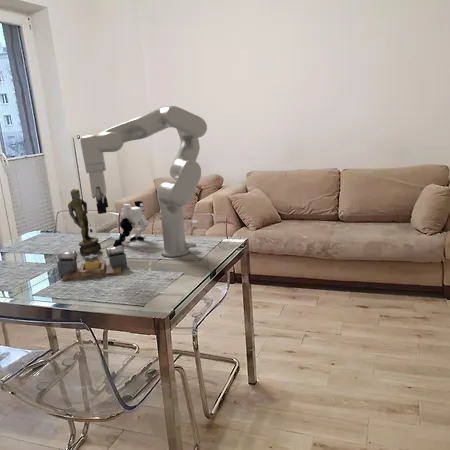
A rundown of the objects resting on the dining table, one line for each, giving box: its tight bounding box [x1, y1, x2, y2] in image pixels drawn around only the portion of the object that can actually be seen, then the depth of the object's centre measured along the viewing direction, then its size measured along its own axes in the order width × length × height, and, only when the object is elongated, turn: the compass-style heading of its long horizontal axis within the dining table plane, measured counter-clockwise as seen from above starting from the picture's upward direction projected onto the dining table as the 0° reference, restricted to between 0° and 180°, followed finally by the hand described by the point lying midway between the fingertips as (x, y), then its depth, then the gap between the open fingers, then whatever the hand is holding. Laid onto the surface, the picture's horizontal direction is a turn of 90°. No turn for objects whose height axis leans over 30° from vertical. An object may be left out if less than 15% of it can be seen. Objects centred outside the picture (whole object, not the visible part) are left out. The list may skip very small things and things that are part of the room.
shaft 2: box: [105, 245, 128, 270], centre depth 191 cm, size 7×4×9 cm, turn 115°
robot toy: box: [112, 200, 150, 248], centre depth 227 cm, size 19×14×20 cm
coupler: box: [84, 253, 100, 270], centre depth 188 cm, size 5×5×6 cm
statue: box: [67, 188, 102, 255], centre depth 213 cm, size 11×11×30 cm
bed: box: [62, 260, 122, 282], centre depth 188 cm, size 22×11×3 cm, turn 100°
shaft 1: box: [56, 250, 79, 277], centre depth 189 cm, size 7×4×9 cm, turn 85°
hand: (103, 210), depth 186 cm, fingers open, 9 cm apart
